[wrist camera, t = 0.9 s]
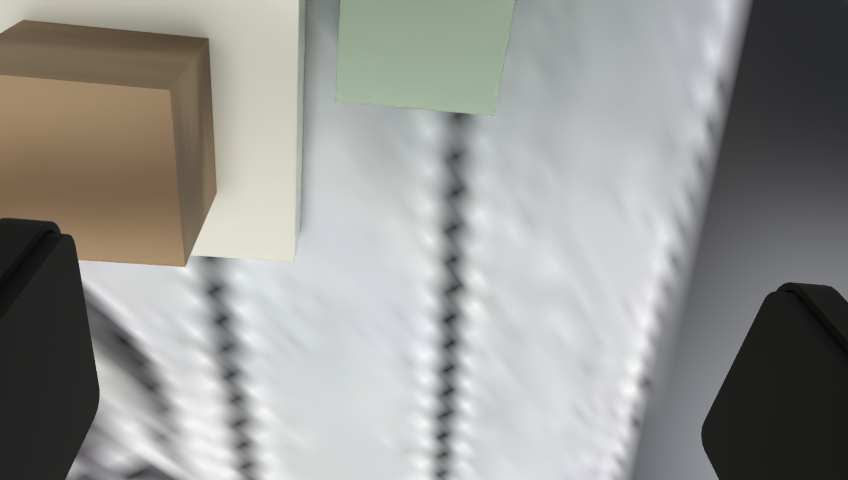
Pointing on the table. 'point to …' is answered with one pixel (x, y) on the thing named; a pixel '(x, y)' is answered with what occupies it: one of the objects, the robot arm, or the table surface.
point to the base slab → (227, 106)
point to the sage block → (423, 53)
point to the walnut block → (108, 138)
